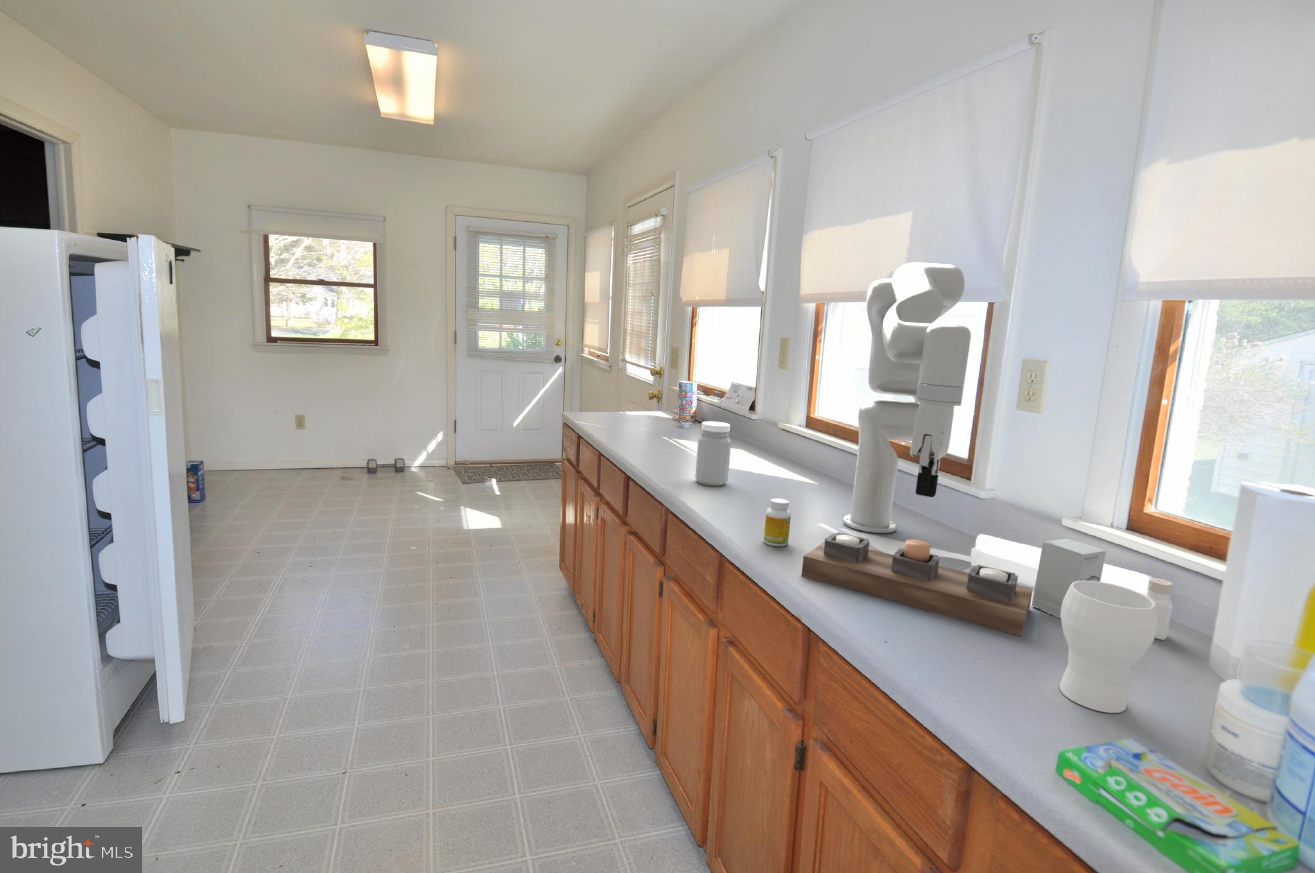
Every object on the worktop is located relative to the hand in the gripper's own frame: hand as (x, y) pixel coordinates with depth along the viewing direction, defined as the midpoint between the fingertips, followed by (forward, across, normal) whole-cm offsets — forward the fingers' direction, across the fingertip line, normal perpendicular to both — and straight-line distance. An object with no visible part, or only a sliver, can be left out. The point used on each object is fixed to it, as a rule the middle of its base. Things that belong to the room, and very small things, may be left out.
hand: (925, 494), depth 122 cm
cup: (+19, +22, +29) cm, 41 cm away
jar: (+18, -47, -69) cm, 86 cm away
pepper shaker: (+19, -10, +37) cm, 43 cm away
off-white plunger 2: (+14, 0, +13) cm, 19 cm away
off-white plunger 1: (+14, 0, -13) cm, 19 cm away
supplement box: (+19, -10, +24) cm, 32 cm away
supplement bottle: (+19, -8, -31) cm, 37 cm away
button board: (+19, 0, 0) cm, 19 cm away
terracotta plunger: (+12, 0, 0) cm, 12 cm away
